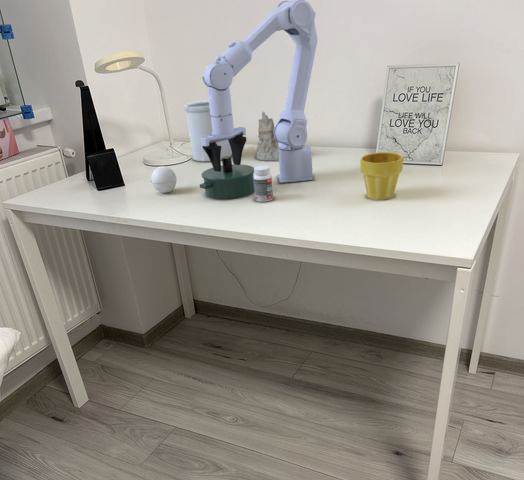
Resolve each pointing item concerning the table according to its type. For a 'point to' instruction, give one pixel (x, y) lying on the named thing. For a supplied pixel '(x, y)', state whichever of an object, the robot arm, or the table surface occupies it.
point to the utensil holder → (202, 130)
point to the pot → (229, 188)
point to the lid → (228, 171)
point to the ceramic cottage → (267, 140)
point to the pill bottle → (263, 184)
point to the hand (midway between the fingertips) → (227, 167)
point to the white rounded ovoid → (163, 179)
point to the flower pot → (381, 173)
